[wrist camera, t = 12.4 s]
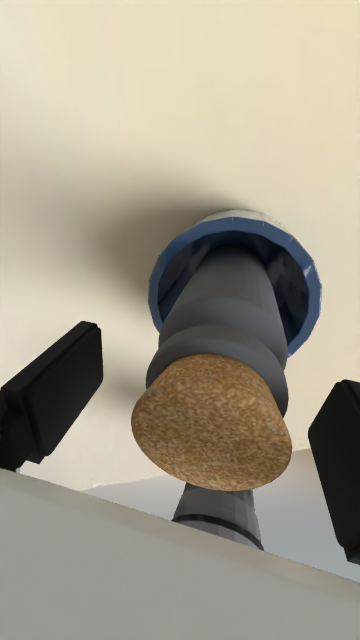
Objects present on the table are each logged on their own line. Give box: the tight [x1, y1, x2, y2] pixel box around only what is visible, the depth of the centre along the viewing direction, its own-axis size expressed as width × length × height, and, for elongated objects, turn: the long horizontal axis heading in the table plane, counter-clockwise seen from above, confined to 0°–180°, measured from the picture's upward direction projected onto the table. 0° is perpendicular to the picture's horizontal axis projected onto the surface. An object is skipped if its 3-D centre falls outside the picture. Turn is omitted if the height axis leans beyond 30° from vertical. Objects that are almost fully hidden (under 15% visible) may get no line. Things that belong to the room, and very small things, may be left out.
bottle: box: [131, 245, 292, 491], centre depth 13 cm, size 6×6×15 cm
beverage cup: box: [171, 482, 264, 551], centre depth 20 cm, size 7×7×20 cm
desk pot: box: [148, 209, 322, 358], centre depth 18 cm, size 11×11×6 cm
